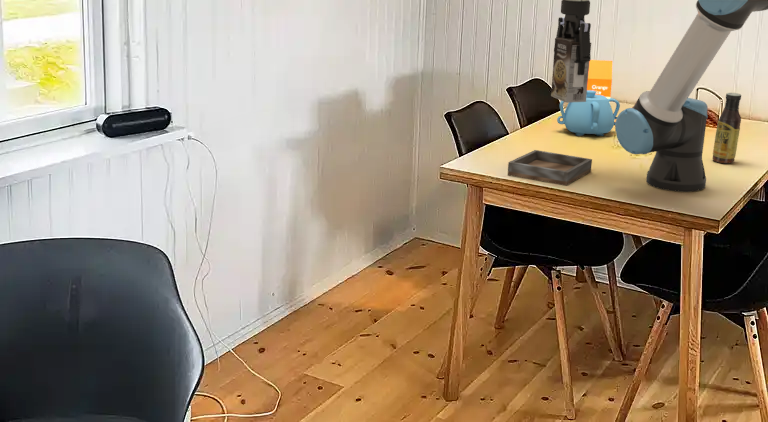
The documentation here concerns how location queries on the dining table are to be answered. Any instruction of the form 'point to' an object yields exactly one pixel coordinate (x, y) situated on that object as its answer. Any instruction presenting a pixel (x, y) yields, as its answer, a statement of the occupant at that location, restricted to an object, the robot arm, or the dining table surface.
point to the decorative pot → (589, 115)
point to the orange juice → (600, 77)
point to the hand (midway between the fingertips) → (569, 83)
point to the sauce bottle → (728, 130)
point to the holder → (550, 167)
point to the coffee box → (567, 72)
